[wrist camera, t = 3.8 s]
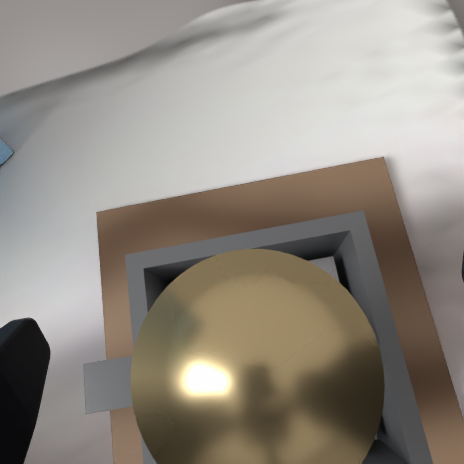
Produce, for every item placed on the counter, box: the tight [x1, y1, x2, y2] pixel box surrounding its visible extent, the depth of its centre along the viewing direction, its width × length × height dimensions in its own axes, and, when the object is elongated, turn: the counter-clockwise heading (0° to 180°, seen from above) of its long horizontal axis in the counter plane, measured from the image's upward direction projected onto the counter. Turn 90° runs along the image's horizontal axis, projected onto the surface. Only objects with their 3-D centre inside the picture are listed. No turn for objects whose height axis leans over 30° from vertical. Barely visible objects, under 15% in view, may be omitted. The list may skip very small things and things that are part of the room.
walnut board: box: [96, 157, 464, 464], centre depth 19 cm, size 20×16×1 cm
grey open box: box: [83, 210, 433, 464], centre depth 16 cm, size 8×10×7 cm
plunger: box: [130, 249, 385, 464], centre depth 10 cm, size 6×6×10 cm
